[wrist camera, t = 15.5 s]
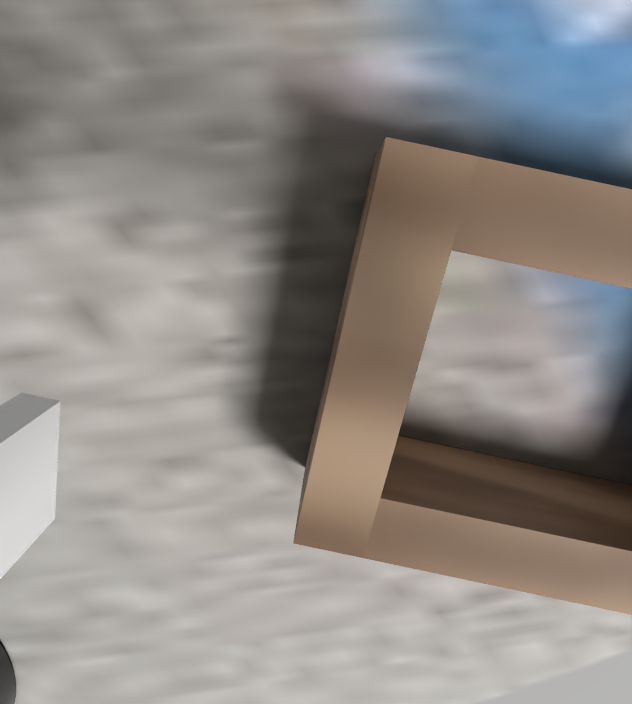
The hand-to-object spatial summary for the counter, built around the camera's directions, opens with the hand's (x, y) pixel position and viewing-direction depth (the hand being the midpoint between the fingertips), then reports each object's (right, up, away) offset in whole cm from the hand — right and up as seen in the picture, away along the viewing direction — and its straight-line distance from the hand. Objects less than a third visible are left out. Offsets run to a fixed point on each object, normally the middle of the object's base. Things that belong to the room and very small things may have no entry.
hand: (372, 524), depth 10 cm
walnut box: (+10, +3, +14) cm, 17 cm away
